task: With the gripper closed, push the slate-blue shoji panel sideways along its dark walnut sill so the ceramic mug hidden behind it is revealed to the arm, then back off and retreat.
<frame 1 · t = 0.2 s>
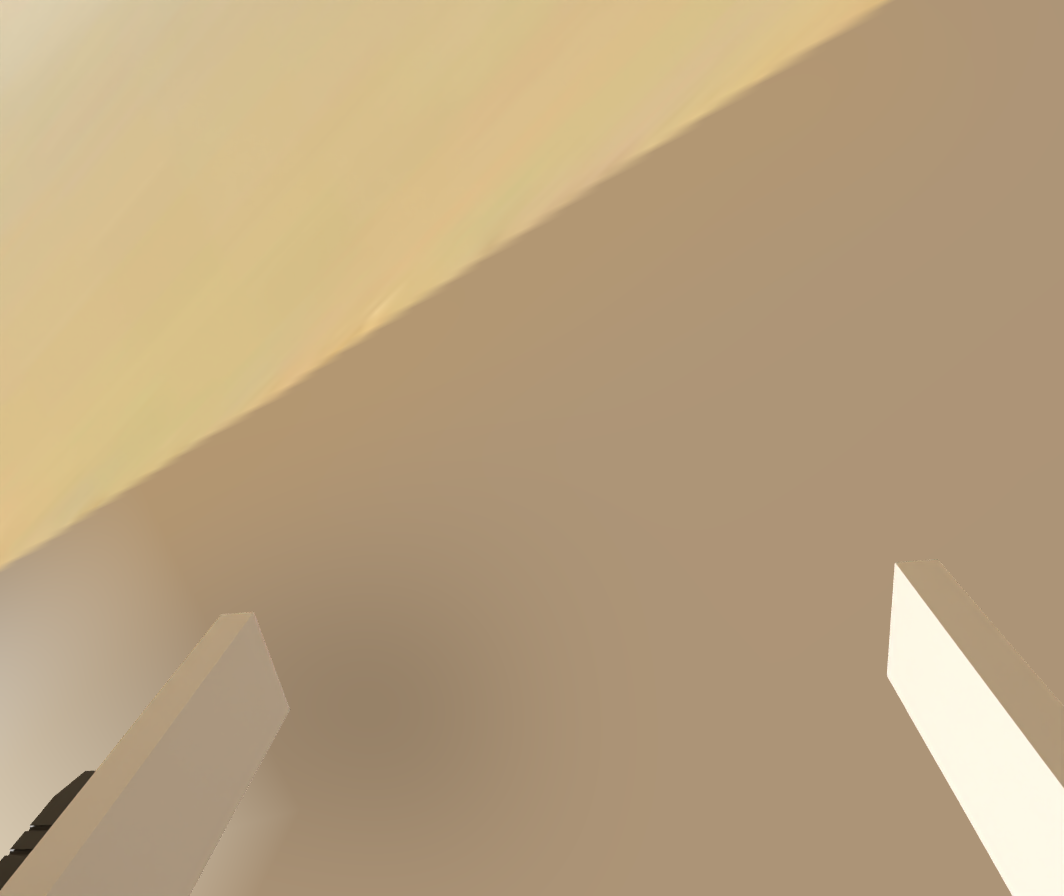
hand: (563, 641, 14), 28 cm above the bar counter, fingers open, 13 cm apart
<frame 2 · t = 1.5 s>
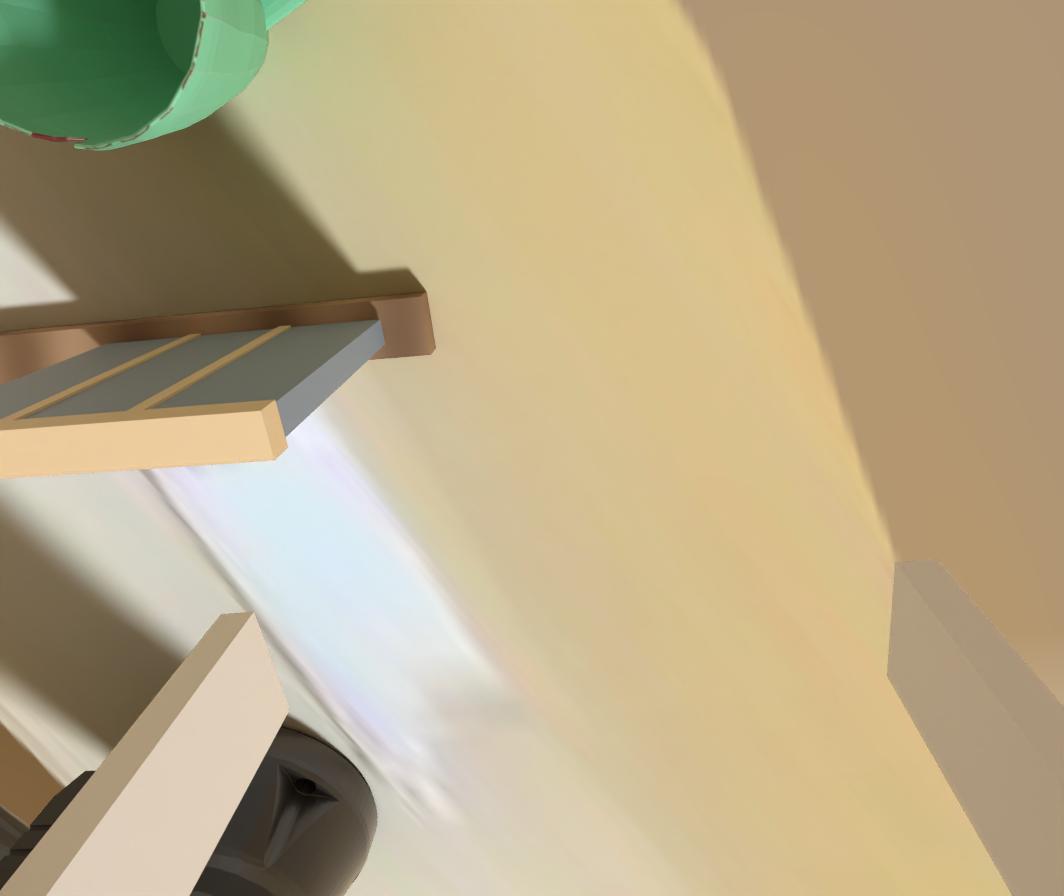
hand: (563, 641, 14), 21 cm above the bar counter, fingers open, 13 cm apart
mug: (263, 2, 29), on the bar counter
sill: (139, 346, 35), on the bar counter
panel: (166, 386, 27), point 8 cm above the bar counter, slide at 0.0 cm
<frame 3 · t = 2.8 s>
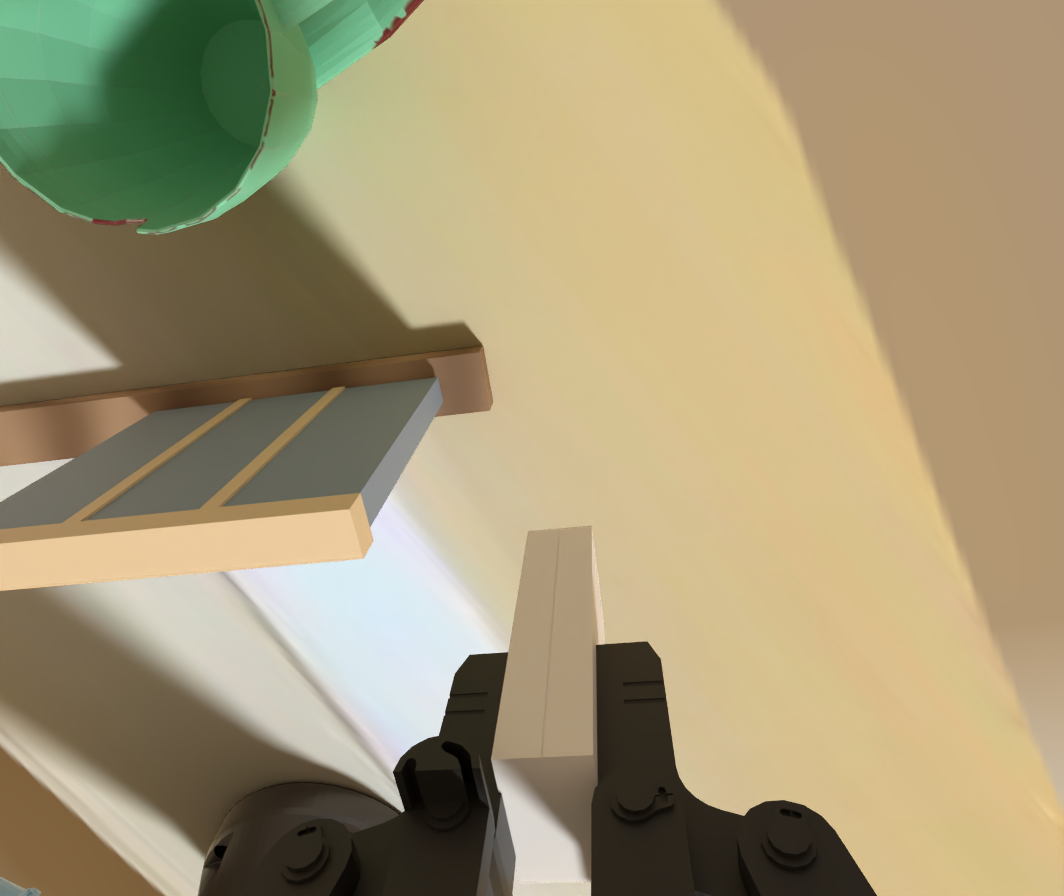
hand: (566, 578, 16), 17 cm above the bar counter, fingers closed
mug: (310, 59, 28), on the bar counter
sill: (186, 410, 34), on the bar counter
panel: (228, 464, 26), point 8 cm above the bar counter, slide at 0.0 cm
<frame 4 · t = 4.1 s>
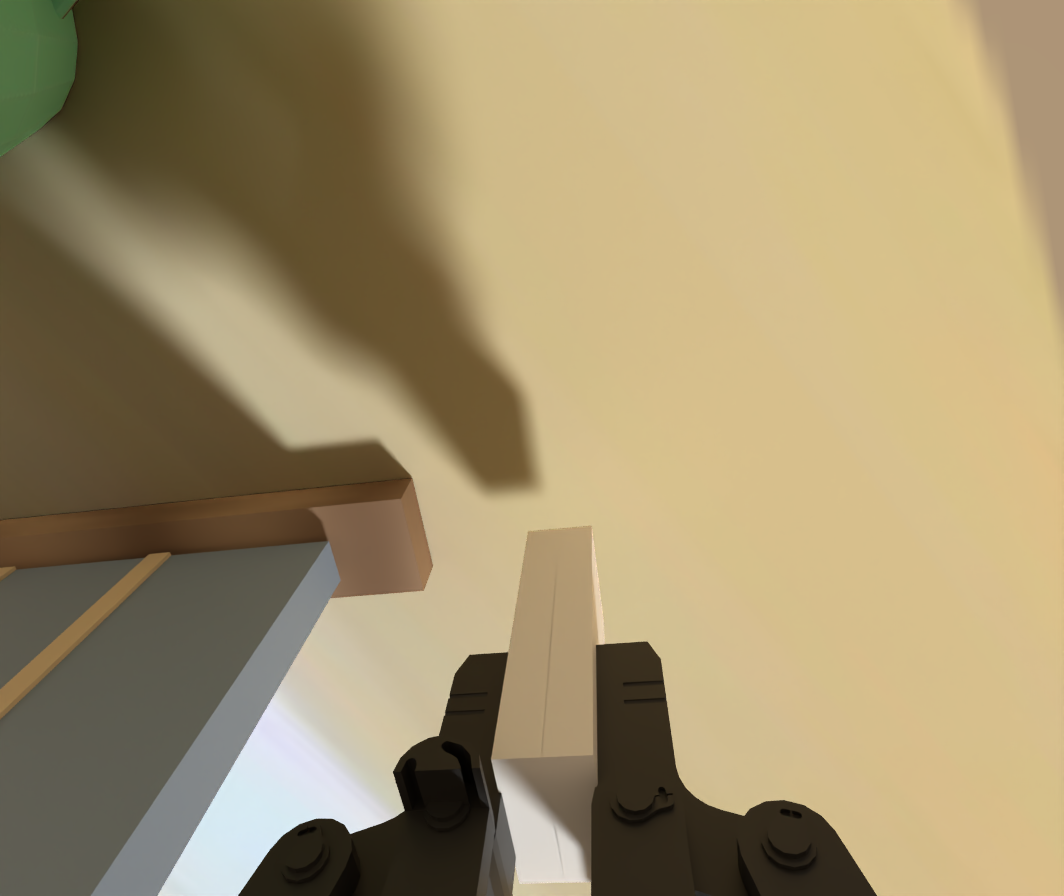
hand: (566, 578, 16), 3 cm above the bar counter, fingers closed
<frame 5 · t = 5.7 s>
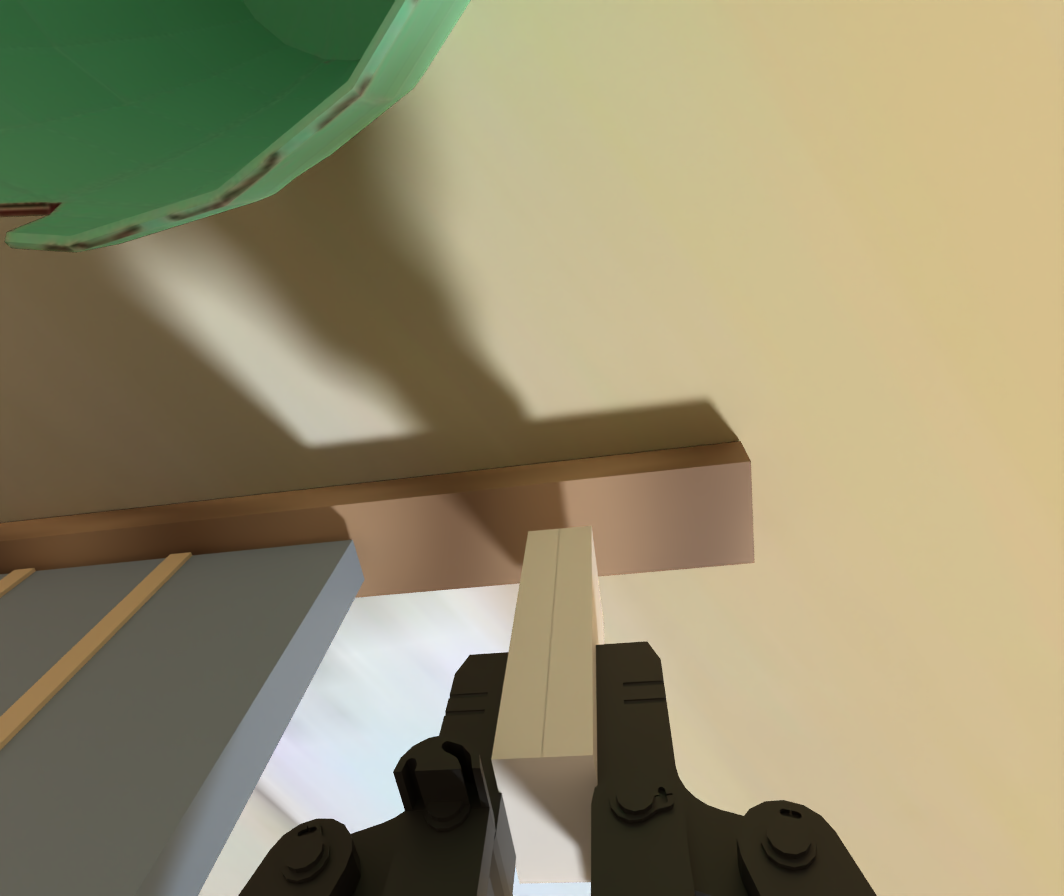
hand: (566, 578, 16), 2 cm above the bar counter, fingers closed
sill: (190, 546, 20), on the bar counter
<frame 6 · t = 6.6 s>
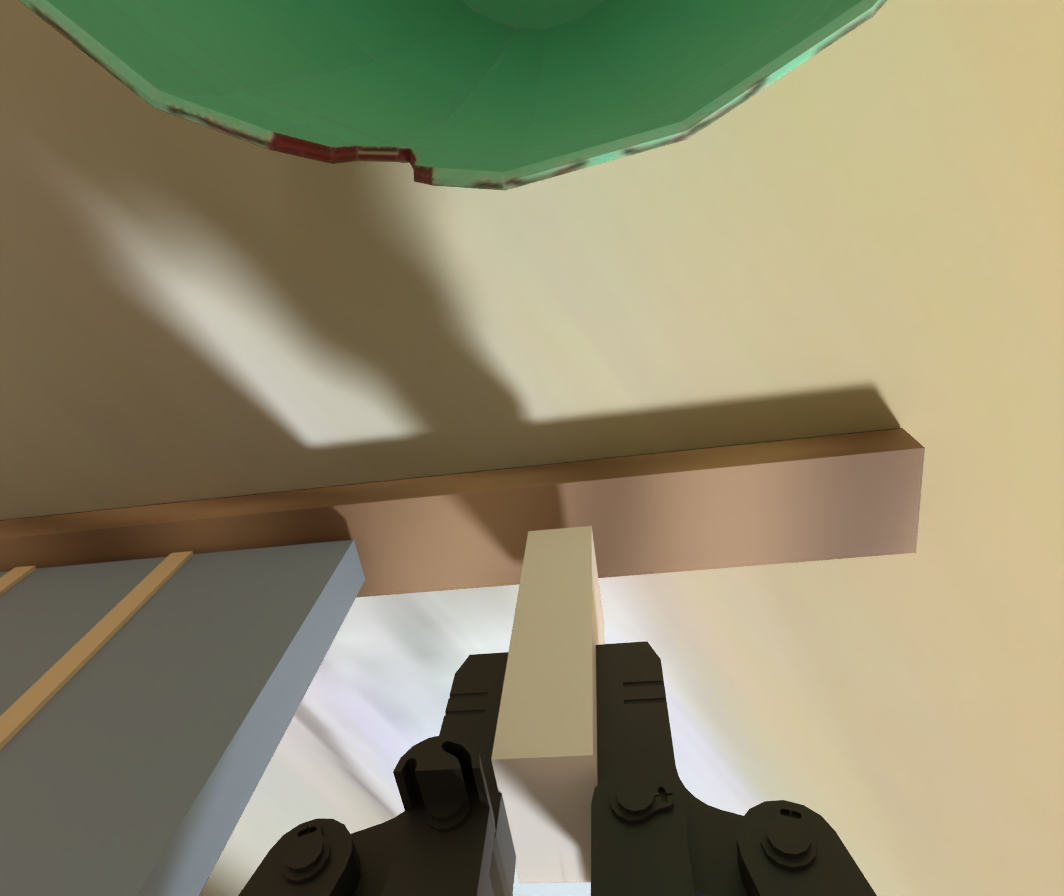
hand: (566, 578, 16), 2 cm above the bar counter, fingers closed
sill: (317, 533, 19), on the bar counter
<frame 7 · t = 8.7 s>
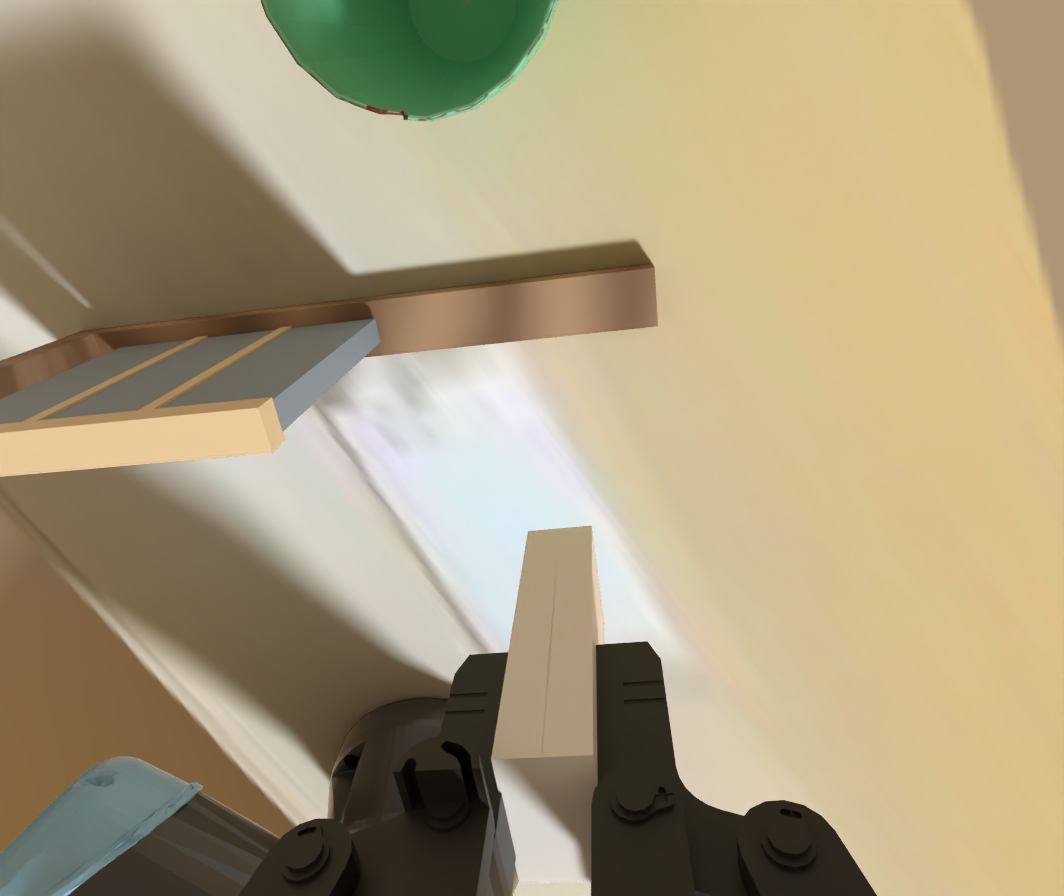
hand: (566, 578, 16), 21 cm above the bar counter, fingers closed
sill: (355, 326, 36), on the bar counter
panel: (175, 386, 29), point 8 cm above the bar counter, slide at 11.8 cm
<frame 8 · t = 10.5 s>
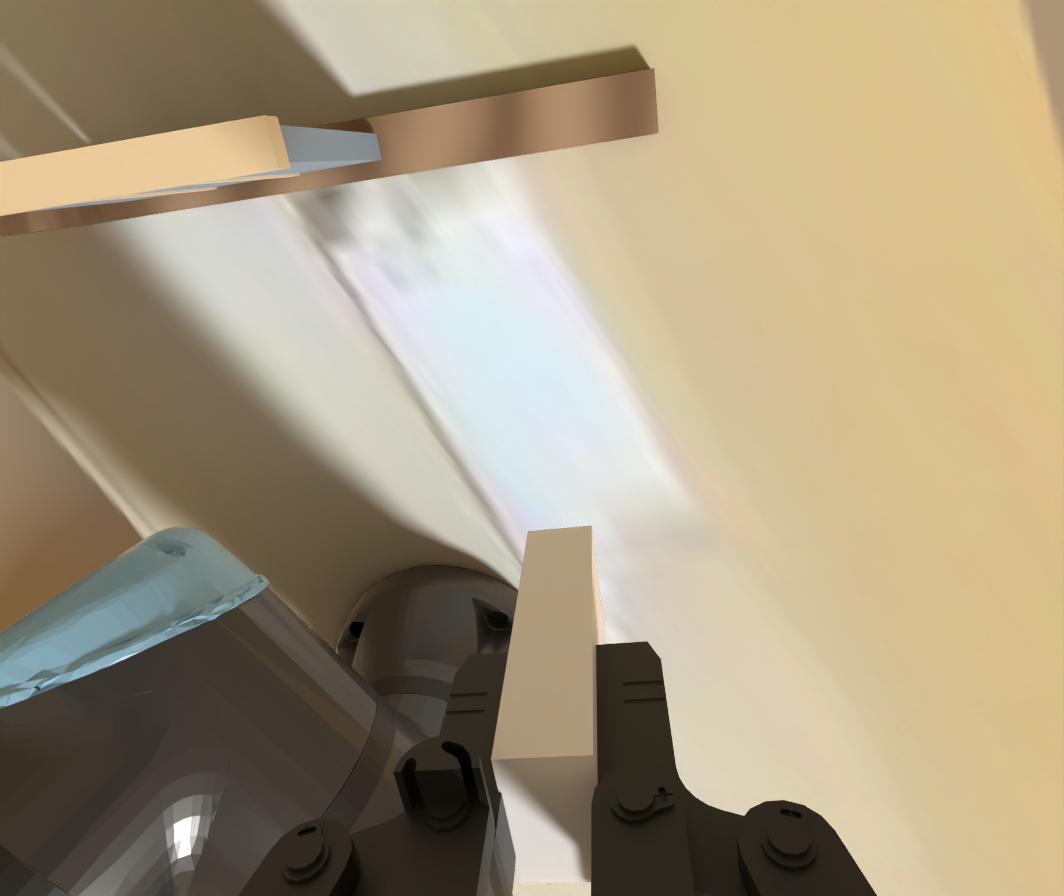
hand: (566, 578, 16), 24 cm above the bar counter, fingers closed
sill: (356, 152, 36), on the bar counter
panel: (178, 171, 29), point 8 cm above the bar counter, slide at 11.8 cm
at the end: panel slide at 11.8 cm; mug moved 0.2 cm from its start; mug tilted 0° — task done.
